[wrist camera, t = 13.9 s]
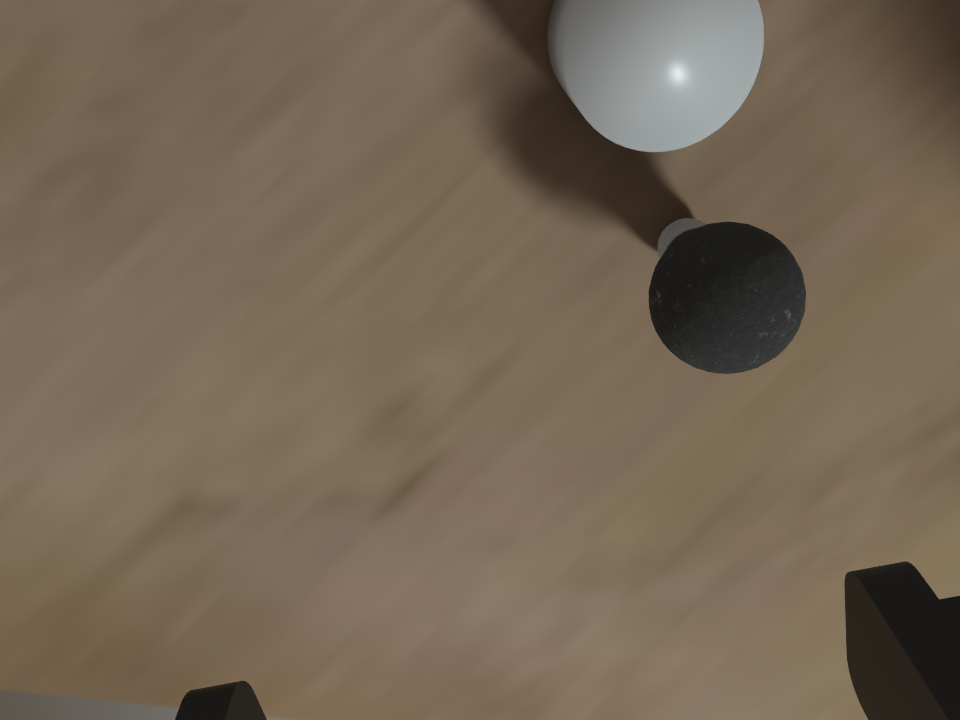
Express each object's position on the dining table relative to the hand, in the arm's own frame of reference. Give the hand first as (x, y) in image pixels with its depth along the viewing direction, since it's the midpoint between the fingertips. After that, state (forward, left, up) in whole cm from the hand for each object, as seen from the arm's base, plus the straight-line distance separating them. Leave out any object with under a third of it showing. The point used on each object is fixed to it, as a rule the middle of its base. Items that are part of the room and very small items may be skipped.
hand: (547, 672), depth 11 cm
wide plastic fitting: (-7, -4, -28) cm, 29 cm away
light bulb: (-8, +5, -28) cm, 30 cm away
